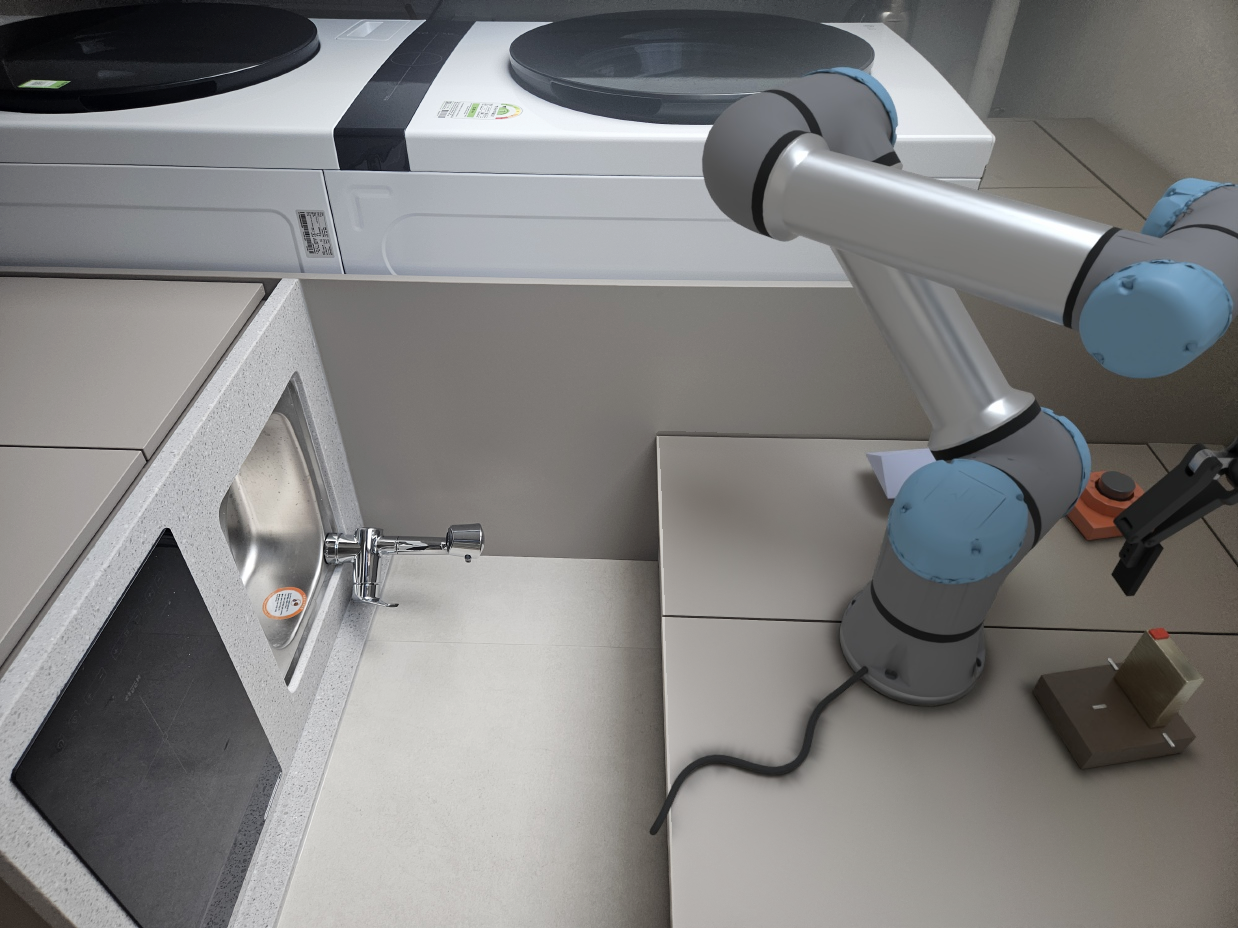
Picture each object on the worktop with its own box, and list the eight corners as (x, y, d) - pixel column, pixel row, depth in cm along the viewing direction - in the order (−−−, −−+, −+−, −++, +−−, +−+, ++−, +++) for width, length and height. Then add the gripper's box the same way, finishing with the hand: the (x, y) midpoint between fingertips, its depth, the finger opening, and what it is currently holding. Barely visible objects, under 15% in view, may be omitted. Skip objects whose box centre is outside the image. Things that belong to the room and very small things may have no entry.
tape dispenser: (882, 517, 106) (978, 508, 106) (893, 479, 101) (993, 471, 102) (860, 471, 112) (950, 464, 113) (869, 434, 108) (963, 426, 109)
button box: (1087, 540, 102) (1099, 518, 99) (1048, 492, 109) (1058, 470, 106) (1159, 530, 103) (1173, 508, 100) (1116, 483, 110) (1128, 461, 107)
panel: (1084, 775, 79) (1096, 758, 77) (1028, 685, 86) (1038, 668, 84) (1206, 754, 80) (1221, 738, 78) (1141, 668, 88) (1153, 651, 86)
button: (1108, 503, 102) (1113, 493, 100) (1089, 482, 105) (1094, 472, 103) (1137, 500, 102) (1143, 489, 101) (1117, 479, 105) (1123, 469, 104)
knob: (1167, 725, 79) (1206, 678, 74) (1150, 728, 79) (1188, 680, 73) (1129, 674, 84) (1163, 625, 78) (1113, 676, 83) (1146, 628, 78)
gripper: (1430, 364, 66) (1291, 543, 80) (1132, 381, 65) (1045, 559, 79) (1513, 421, 60) (1348, 602, 74) (1188, 440, 59) (1083, 620, 73)
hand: (1192, 580), depth 76 cm, fingers open, 13 cm apart
